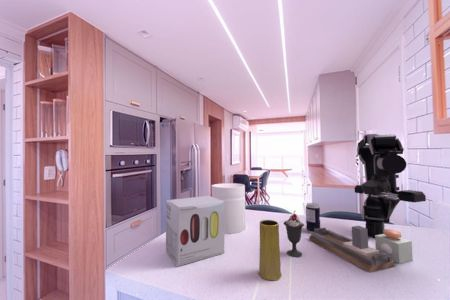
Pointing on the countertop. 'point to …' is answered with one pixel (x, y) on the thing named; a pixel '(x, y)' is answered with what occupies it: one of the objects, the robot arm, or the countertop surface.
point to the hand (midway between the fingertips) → (386, 218)
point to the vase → (269, 250)
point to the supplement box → (194, 229)
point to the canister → (231, 205)
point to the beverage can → (312, 216)
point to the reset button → (392, 234)
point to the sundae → (294, 234)
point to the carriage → (360, 242)
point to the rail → (350, 251)
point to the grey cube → (395, 248)
